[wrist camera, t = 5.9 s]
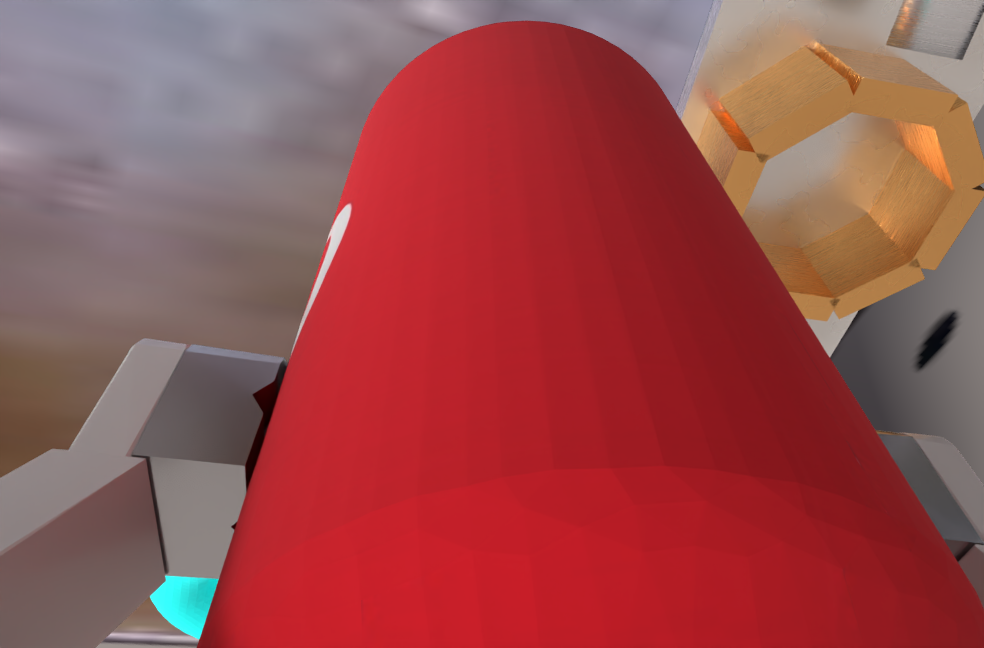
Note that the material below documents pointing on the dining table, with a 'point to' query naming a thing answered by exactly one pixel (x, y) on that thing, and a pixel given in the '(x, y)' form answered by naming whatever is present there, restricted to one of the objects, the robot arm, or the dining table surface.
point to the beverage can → (565, 398)
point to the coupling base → (843, 139)
